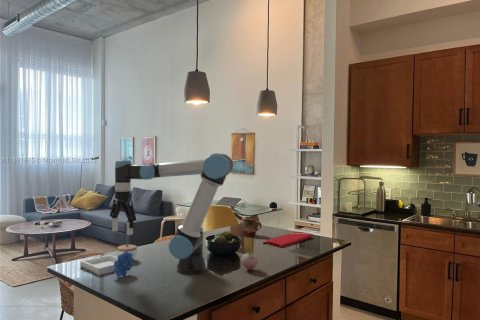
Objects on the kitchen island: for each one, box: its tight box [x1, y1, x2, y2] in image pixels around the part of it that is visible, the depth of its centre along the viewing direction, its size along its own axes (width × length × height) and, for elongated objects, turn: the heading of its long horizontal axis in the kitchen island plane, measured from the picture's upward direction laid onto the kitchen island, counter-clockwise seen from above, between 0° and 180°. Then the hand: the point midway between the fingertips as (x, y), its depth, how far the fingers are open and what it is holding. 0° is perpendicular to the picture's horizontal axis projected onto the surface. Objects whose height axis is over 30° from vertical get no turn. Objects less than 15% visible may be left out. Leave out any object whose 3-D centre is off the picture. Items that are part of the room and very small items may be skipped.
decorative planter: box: [239, 216, 262, 237], centre depth 272 cm, size 20×12×14 cm, turn 55°
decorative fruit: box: [240, 251, 259, 271], centre depth 189 cm, size 9×8×10 cm
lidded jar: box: [116, 243, 138, 259], centre depth 204 cm, size 11×11×9 cm
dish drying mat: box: [262, 231, 313, 249], centre depth 257 cm, size 16×41×4 cm, turn 138°
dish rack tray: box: [79, 254, 118, 276], centre depth 191 cm, size 19×17×4 cm
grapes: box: [112, 251, 135, 278], centre depth 179 cm, size 12×7×12 cm, turn 146°
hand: (122, 232), depth 180 cm, fingers open, 13 cm apart
